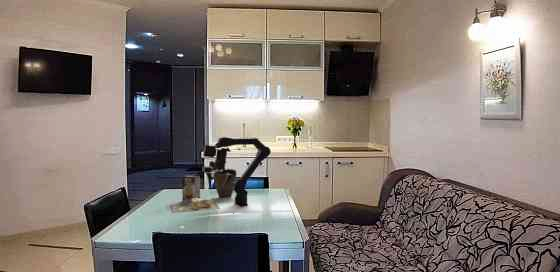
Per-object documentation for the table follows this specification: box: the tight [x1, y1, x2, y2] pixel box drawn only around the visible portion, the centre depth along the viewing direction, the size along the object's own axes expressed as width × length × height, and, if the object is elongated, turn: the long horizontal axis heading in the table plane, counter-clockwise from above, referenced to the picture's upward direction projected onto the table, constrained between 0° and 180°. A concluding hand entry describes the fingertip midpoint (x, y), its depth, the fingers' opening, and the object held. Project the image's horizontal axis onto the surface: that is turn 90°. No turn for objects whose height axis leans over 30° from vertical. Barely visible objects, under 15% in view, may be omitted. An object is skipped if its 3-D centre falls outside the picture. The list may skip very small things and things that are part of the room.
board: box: [169, 201, 221, 214], centre depth 220 cm, size 26×20×1 cm
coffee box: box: [181, 174, 201, 203], centre depth 237 cm, size 9×6×16 cm
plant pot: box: [212, 172, 237, 199], centre depth 250 cm, size 15×15×16 cm
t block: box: [191, 197, 212, 209], centre depth 221 cm, size 10×10×4 cm
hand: (217, 185), depth 224 cm, fingers open, 9 cm apart
